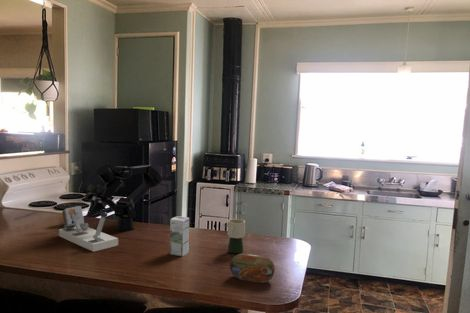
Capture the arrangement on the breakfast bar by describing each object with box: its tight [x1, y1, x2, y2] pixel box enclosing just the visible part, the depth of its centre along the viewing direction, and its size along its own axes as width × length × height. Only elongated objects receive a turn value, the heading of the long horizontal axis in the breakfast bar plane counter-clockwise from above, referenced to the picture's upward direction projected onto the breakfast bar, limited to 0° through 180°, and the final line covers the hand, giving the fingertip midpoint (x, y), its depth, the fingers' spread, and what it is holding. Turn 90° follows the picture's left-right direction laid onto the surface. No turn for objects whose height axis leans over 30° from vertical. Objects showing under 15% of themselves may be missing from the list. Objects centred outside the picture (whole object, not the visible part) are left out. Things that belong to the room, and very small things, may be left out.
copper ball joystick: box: [68, 209, 83, 233], centre depth 150 cm, size 3×3×12 cm
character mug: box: [227, 218, 246, 254], centre depth 142 cm, size 11×7×13 cm, turn 156°
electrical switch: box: [61, 205, 85, 225], centre depth 177 cm, size 9×5×9 cm, turn 152°
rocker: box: [63, 224, 75, 229], centre depth 157 cm, size 3×4×1 cm
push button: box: [80, 222, 89, 230], centre depth 158 cm, size 4×4×2 cm
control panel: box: [58, 226, 119, 252], centre depth 152 cm, size 11×30×3 cm, turn 51°
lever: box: [93, 211, 108, 240], centre depth 144 cm, size 3×3×12 cm
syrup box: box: [169, 216, 190, 257], centre depth 139 cm, size 6×6×14 cm
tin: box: [229, 252, 276, 284], centre depth 116 cm, size 15×3×8 cm, turn 69°
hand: (87, 216), depth 154 cm, fingers closed
